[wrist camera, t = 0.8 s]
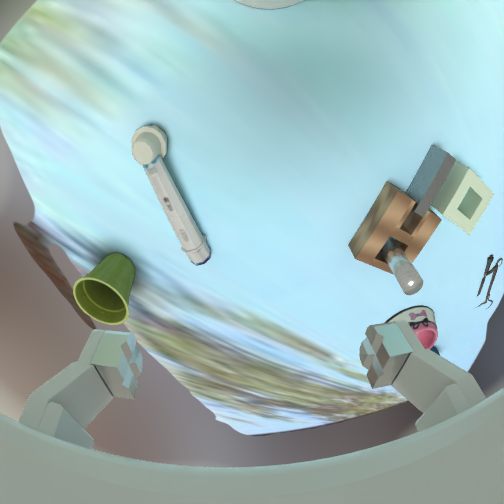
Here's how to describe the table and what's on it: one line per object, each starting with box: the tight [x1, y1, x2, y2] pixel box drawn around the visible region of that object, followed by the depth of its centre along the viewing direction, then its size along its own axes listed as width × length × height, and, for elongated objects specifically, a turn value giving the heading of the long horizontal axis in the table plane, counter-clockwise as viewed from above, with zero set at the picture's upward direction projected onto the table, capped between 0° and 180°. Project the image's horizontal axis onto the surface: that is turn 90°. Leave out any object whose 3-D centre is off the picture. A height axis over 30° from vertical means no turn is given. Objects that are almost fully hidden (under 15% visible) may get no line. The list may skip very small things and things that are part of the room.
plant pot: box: [73, 253, 135, 325], centre depth 48 cm, size 12×12×11 cm
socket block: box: [349, 182, 441, 274], centre depth 45 cm, size 14×12×4 cm
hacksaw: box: [475, 255, 503, 309], centre depth 55 cm, size 24×10×2 cm, turn 16°
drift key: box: [406, 145, 456, 217], centre depth 39 cm, size 12×2×5 cm, turn 158°
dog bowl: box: [385, 306, 438, 350], centre depth 61 cm, size 18×19×7 cm
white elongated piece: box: [132, 125, 211, 266], centre depth 42 cm, size 5×7×25 cm
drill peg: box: [380, 236, 423, 295], centre depth 42 cm, size 4×4×14 cm
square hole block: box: [431, 161, 494, 235], centre depth 39 cm, size 10×10×6 cm
